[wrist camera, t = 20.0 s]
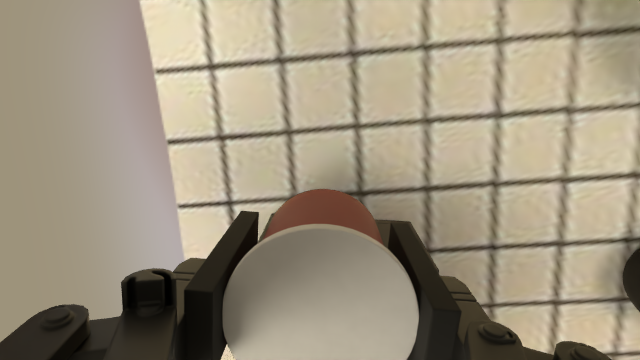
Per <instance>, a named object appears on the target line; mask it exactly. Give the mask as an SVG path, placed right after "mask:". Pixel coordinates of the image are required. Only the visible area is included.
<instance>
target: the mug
mask: <svg viewBox="0 0 640 360" xmlns="http://www.w3.org/2000/svg"><path fill="white" fill-rule="evenodd" d="M623 284H624V288H625V291H626V293H627V295H628V297H629V299H630V300H631V302H632V303H633V304H634V306H635V307H636V308H637V309H638V310H639V312H640V249H638V250H637V251H636V252H635V253H634V254H633V255H632V256H631V257H630V259H629V260H628V262H627V264H626V266H625V269H624V272H623Z"/></svg>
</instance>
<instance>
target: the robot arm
mask: <svg viewBox="0 0 640 360" xmlns="http://www.w3.org/2000/svg"><path fill="white" fill-rule="evenodd" d="M258 217H259V212H249V211H241V212H240V213H239V215H238V216H237V218H236V219H235V220H234V222H233V223H232V224H231V226H230V227H229V229H228V230H227V231H226V233H225V234H224V235H223V237H222V238H221V240H220V241H219V242H218V244H217V245H216V246H215V248H214V249H213V250H212V252H211V253H210V255H209V256H208V257H207V259H200V258H190V259H188V260H186V261H184V262H182V263H181V264H179V265H178V266H177V268H176V269H175V270H174V271H173V272H171V271H169V270H166V269H146V270H142V271H138V272H135V273H132V274H130V275H129V276H127V277H125V279H124V280H123V281H122V282H121V288H122V304H123V312H122V314H121V316H119V317H113V318H107V319H97V320H89V313H88V309H86V308H85V307H84V306H80V305H74V304H73V305H59V306H55V307H51V308H49V309H47V310H44V311H42V312H39V313H38V314H36V315H34V316H33V317H31V318H30V319H28V320H27V321H26V322H25V323H24V324H22V325H21V326H20V327H19V328H18V329H16V330H15V331H14V332H13V333H11V334H10V335H9V336H8V337H6V338H5V339H4V340H3V341H2V342H0V360H220V359H221V357H222V354H223V352H224V349H225V347H226V344H227V341H226V339H225V336H224V331H223V297H224V292H225V289H226V286H227V284H228V281H229V279H230V277H231V275H232V274H233V272H234V270H235V268H236V267H237V265H238V263H239V262H240V261H241V260H242V258H243V257H244V256H245V255H246V254H247V253H248V252H249V251H250V250H251V249H252V248H253V247H254V246H255V245H257V244H258ZM388 250H389V251H390V252H391V253H392V254H393V255H394V256H395V257H396V258H397V259H398V260H399V262H400V263H401V264H402V266H403V267H404V269H405V271H406V272H407V274H408V276H409V278H410V280H411V282H412V285H413V288H414V290H415V293H416V296H417V301H418V305H419V322H418V329H417V335H416V341H415V343H414V346H413V349H412V351H411V353H410V355H409V356H408V358H407V359H408V360H611V359H610V358H609V357H608V356H606V355H605V354H603V353H601V352H600V351H598V350H596V349H595V348H593V347H591V346H589V345H588V346H587V345H586V344H582V343H576V342H572V341H562V342H560V343H558V344H556V348H555V352H554V355H551V354H547V353H544V352H540V351H536V350H533V349H529V348H526V347H523V346H522V343H521V340H520V339H519V337H518V336H517V334H515V333H514V332H513V331H512V330H510V329H509V328H507V327H505V326H503V325H501V324H499V323H496V322H493V321H491V320H490V319H489V317H488V316H487V314H486V313H485V312H484V310H483V309H482V307H481V306H480V305H479V303H478V302H477V300H476V299H475V298H474V296H473V295H471V292H470V291H469V289H468V288H467V286H466V285H465V284H464V283H462V282H461V281H459V280H458V279H456V278H455V277H448V276H440V275H439V273H438V272H437V270H436V268H435V267H434V265H433V263H432V262H431V260H430V258H429V257H428V255H427V254H426V252H425V250H424V249H423V247H422V245H421V244H420V242H419V240H418V239H417V237H416V236H415V234H414V232H413V231H412V229H411V227H410V226H409V224H407V223H393V222H391V225H390V233H389V241H388Z"/></svg>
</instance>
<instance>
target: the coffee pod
mask: <svg viewBox="0 0 640 360" xmlns="http://www.w3.org/2000/svg"><path fill="white" fill-rule="evenodd" d="M418 322H419V305H418V301H417V296H416V293H415V290H414V288H413V285H412V282H411V280H410V278H409V276H408V274H407V272H406V271H405V269H404V267H403V266H402V264H401V263H400V262H399V260H398V259H397V258H396V257H395V256H394V255H393V254H392V253H391V252H390V251H389V250H388V249H387V248H386V247H384V244H383V242H382V239H381V236H380V233H379V230H378V227H377V225H376V222H375V220H374V218H373V216H372V215H371V213H370V212H369V211H368V209H367V208H366V207H365V206H364V205H363V204H362V203H361V202H359V201H358V200H357V199H355V198H353V197H352V196H350V195H348V194H345V193H343V192H340V191H336V190H330V189H315V190H310V191H306V192H303V193H300V194H298V195H296V196H294V197H292V198H291V199H289V200H288V201H286V202H285V203H284V204H283V205H282V206H281V207H280V208H279V209H278V211H277V212H276V213H275V215H274V217H273V218H272V220H271V222H270V225H269V227H268V229H267V231H266V233H265V236H264V238H263V240H262V241H261V242H260V243H258V244H257V245H255V246H254V247H253V248H252V249H251V250H250V251H249V252H248V253H247V254H246V255H245V256H244V257H243V258H242V260H241V261H240V262H239V263H238V265H237V267H236V268H235V270H234V272H233V274H232V275H231V277H230V279H229V281H228V284H227V286H226V289H225V292H224V297H223V331H224V336H225V339H226V341H227V344H228V347H229V349H230V351H231V353H232V354H233V356H234V358H235V359H236V360H407V358H408V356H409V355H410V353H411V351H412V349H413V346H414V343H415V341H416V335H417V329H418Z"/></svg>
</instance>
